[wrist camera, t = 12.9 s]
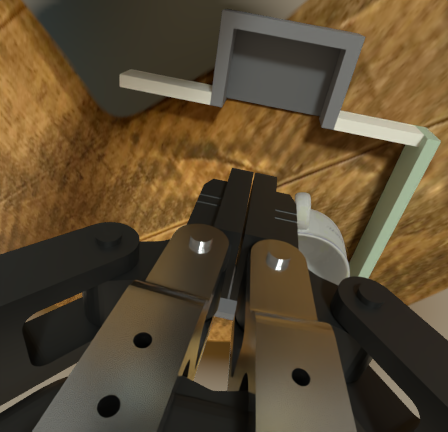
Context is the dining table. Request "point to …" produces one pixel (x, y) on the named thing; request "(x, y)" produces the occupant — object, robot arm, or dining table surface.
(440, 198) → the dining table surface
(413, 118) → the dining table surface
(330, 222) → the teacup
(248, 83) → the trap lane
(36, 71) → the dining table surface
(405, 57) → the dining table surface
